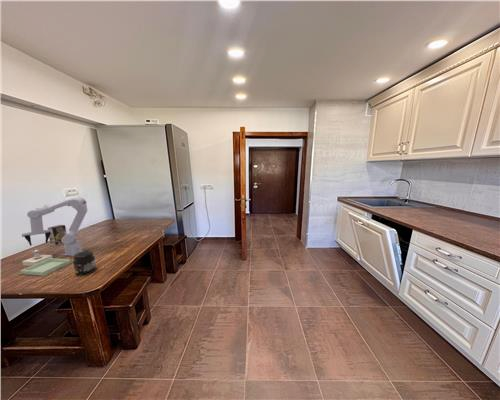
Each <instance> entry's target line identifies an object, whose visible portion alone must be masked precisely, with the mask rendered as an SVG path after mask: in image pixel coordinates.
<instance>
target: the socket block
mask: <svg viewBox="0 0 500 400" xmlns="http://www.w3.org/2000/svg"><path fill="white" fill-rule="evenodd" d="M50 258H53V254H40V259H37V260H35V257H34V256H33V257H31V258H30V257H29V258H28V259H25V260H23V261H22V266H27V267H30V266H33V265H35V264H38V263H40V262H43V261H45V260H48V259H50Z"/></svg>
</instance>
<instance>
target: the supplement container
mask: <svg viewBox="0 0 500 400" xmlns="http://www.w3.org/2000/svg"><path fill="white" fill-rule="evenodd" d="M82 251H83V252H80V253H77V254H75V255H74V256H72V258H73V259H72V264H73V271H74V274H75V275H76V276H84V275H88V274H91V273H93V272H94V271H96V269H97V263H96V256H95V254H94V251H93V250H85V251H84V250H82Z"/></svg>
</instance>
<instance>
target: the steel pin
mask: <svg viewBox="0 0 500 400" xmlns="http://www.w3.org/2000/svg"><path fill="white" fill-rule="evenodd" d="M40 252H41V249H40V248H36V249H33V250H31V253H33V257H35V260H37V259H40V255H41V254H40Z"/></svg>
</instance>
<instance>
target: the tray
mask: <svg viewBox="0 0 500 400" xmlns="http://www.w3.org/2000/svg"><path fill="white" fill-rule="evenodd" d="M71 263H72V259H69V258H68V259H67V258H50V259H48V260H45V261H43V262H40V263H38V264H35V265H33V266H27V267H25V268H23V269H21V270H20V275H26V276H39V277H43V276H47V275H49V274H51V273H53V272H55V271H57V270H59V269H62V268H63V267H65V266H68V265H70V264H71Z"/></svg>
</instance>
